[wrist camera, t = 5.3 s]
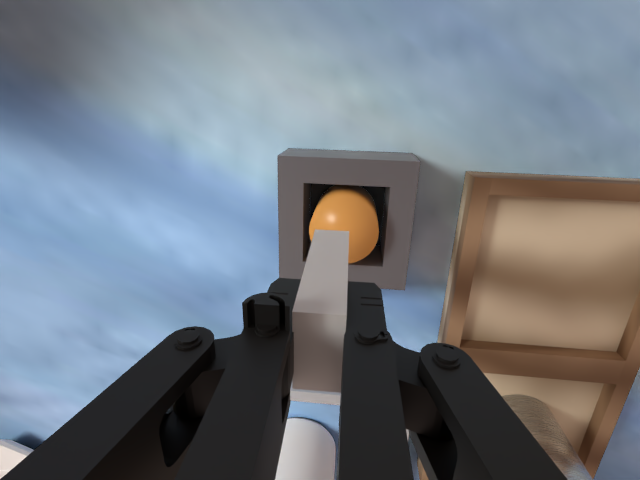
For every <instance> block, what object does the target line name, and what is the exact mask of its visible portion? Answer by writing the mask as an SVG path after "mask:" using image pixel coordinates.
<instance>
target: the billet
mask: <svg viewBox="0 0 640 480" xmlns="http://www.w3.org/2000/svg"><path fill="white" fill-rule="evenodd" d="M502 397H503V399H504V400H505V401H506V403H507V404H508V405H509V406H510V408H511V409H512V410H513V411H514V413H515V414H516V415H517V416H518V418H519V419H520V420H521V421H522V423H523V424H524V425H525V426H526V428H527V429H528V430H529V431H530V433H531V434H532V435H533V437H534V438H535V439H536V440H537V442H538V443H539V444H540V445H541V447H542V448H543V449H544V450H545V452H546V453H547V454H548V455H549V457H550V458H551V459H552V460H553V462H554V463H555V464H556V466H557V467H558V468H559V469H560V471H561V472H562V473H563V474H564V476H565V477H566V478H567V479H568V480H593V479H592V477H591V476H590V474H589V473H588V471H587V469H586V468H585V466H584V464H583V463H582V461H581V460H580V458H579V456H578V455H577V453H576V451H575V450H574V448H573V446H572V445H571V443H570V442H569V440H568V438H567V437H566V435H565V433H564V432H563V430H562V428H561V427H560V425H559V424H558V422H557V420H556V419H555V417H554V415H553V414H552V412H551V411H550V409H549V408H548V406H547V405H545V404H544V403H543V402H542V401H540V400H538V399H536V398H534V397H531V396H527V395H520V394H512V395H504V396H502Z"/></svg>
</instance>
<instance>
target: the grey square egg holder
mask: <svg viewBox="0 0 640 480" xmlns="http://www.w3.org/2000/svg"><path fill="white" fill-rule="evenodd" d="M420 163H421V162H420V161H419V159H418V158H417V157H416V156H415V155H414V154H413V153H396V152H371V151H346V150H321V149H296V148H288V149H287V150H285V151H284V152H282V153H281V154H279V155H278V219H279V278H289V279H301V278H302V275H303V271H304V267H305V264H306V260H307V257H308V253H309V249H310V246H311V242H310V235H309V225H310V192H311V183H314V184H335V185H356V186H377V187H385V196H384V207H383V218H382V229H381V240H380V246H375V247H374V249H373V250H372V251H371V253H370V254H369V255H367V256H366V257H365V258H363V259H361V260H360V261H357V262H354V263H348V281H354V282H370V283H375V284H376V285H377V286H378V287H379V288H381V289H395V290H405V285H406V277H407V269H408V260H409V252H410V244H411V236H412V228H413V220H414V212H415V203H416V195H417V187H418V179H419V171H420Z"/></svg>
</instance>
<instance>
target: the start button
mask: <svg viewBox="0 0 640 480" xmlns="http://www.w3.org/2000/svg"><path fill="white" fill-rule="evenodd" d="M315 229H317V230H336V231H349V254H348V263H354V262H357V261H360V260H361V259H363V258H365V257H366V256H367V255H369V254H370V253H371V251H372V250H373V249H374V247H375V245H376V243H377V240H378V236H379V226H378V219H377V212H376V206H375V202H374V200H373V198H372V196H371V195H370V194H369V192H368V191H366V190H365V189H364V188H363V187H361V186H356V185H334V186H332V187H330V188H328V189H327V190H326V191H325V192H324V193H323V194H322V196H321V197H320V199H319V201H318V204H317V206H316V209H315V211H314V213H313V216H312V218H311V221H310V225H309V235H310V240H311V242H312V239H313V235H314V231H315Z"/></svg>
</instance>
